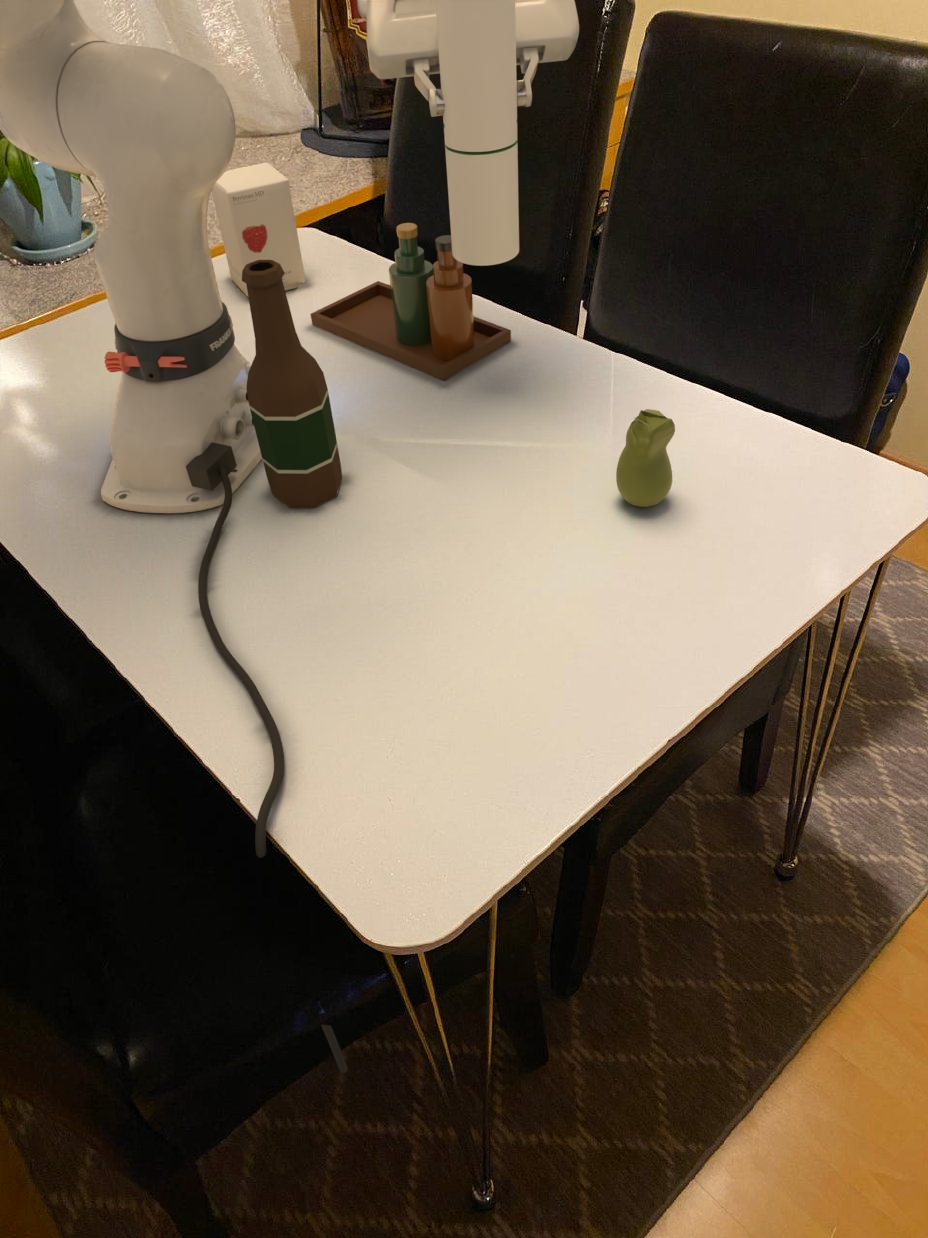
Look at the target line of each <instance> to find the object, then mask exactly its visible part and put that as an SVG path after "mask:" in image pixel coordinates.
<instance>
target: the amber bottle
mask: <svg viewBox="0 0 928 1238" xmlns="http://www.w3.org/2000/svg"><path fill="white" fill-rule="evenodd" d="M435 249H436V250H437V252H436V253H437V261H434V262H433V264H432V266H433V276H431V277H429V278H428V279H427V281H426V288H427V300H428V312H429V324H430V336H431V348H432V354H433V355H434V356H435V357H436V358H438V359H441V360H447V361H451V360H453V359H454V358H456V357H458V356H460V355H461V354H463V353H465V352H466V351H468V350H470V349H472V348H473V347H475V341H474V320H473V316H474V301H473V281H472V277H471V276H470V275H468V274H467V273H464V263H462V262H459V261H457V260H456V259H455V258H454V257H453V254H452V240H451V234H450V235H449V234H446V235H445V234H443V235H440V236H438V237H436V238H435Z"/></svg>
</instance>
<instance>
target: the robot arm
mask: <svg viewBox="0 0 928 1238" xmlns="http://www.w3.org/2000/svg"><path fill="white" fill-rule="evenodd" d="M356 5H357V11H358V13H359V15H360V17H361V18H362V20H363V21H365V22H366V43H367V56H368V66H369V70H370V72H371V73H372V74H373V75H374V76H375V77H376V78H377V79H379V80H389V79H399V78H409V77H413V80H414V86H415V87H416V89H417V91H419V92H420V94H421V95H422V96H423V97H424V98H425V100H426V101H427V102H428V103H429V104H428V105H429V111H430V112H429V113H430V117H431V118H434V117H443V116H444V111H445V102H444V99H443V95H442V90H441V88H437V87H435V85H434V84H433V82H432V81H431V80H430V75H438V74H439V75H440V64H439V50H438V35H437V20H436V6H435V0H356ZM515 16H516V66H520V70H521V74H523V79H518V80H517V79H516V80H517V109H518V108H529V107H531V106H532V102H533V91H532V84H533V80H534V78H535V75H536V73H537V70H538V64H544V63H554V62H563V61H568V59H570V57H571V55H572V54H573V52H574V51H575V49H576V46H577V43H578V39H579V34H580V23H579V16H578V10H577V5H576V1H575V0H515ZM236 129H237V128H236V118H235V113H234V109H233V106H232V103H231V99H230V97H229V95H228V93H227V91H226V89H225V87H224V85H223V84H222V83H221V81H220V80H219V79H218V78H217V77H216V76H215V75H214V74H213V73H212V72H211V71H210V70H208V69H206V68H205V67H203V66H201V65H199V64H197V63H195V62H194V61H193V62H192V61H190V60H189V59H187V58H184V57H183V56H179V55H177V54H175V53H173V52H169V51H168V50H165V49H162V48H158V47H151V46H140V45H133V44H124V43H115V42H110V41H107V40H105V39H104V38H102V37H100V36H99V35H98V34H97V33H96V32H95V31H93V30H92V28H91V27H90V26H89V25H88V24H87V23H86V21H85V20H84V18H83V17H82V15H81V13H80V11H79V9H78V7H77V6H76V3H75V0H0V131H1V133H2V134H3V136H4V137H5V138H6V139H7V140H8V141H9V142H10V144H12V145H13V146H14V147H16V148H17V149H19V150H21V151H22V152H24V153H25V154H27V155H29V156H31V157H32V158H34V159H36V160H38V161H40V162H41V163H43V164H46V165H48V166H50V167H51V168H54V169H57V170H60V171H65V172H69V173H73V174H79V175H81V176H87V177H92V178H96V179H98V181H99V182H100V183H101V186H102V187H103V190H104V193H105V198H106V203H107V205H106V206H107V217H108V218H107V219H108V221H107V223H108V224H107V228H106V229H105V230H103V232H102V233H101V234H100V235H99V237H98V239H97V240H96V243H95V245H94V249H93V259H94V264H95V267H96V271H97V273H98V275H99V279H100V282H101V285H102V287H103V290H104V292H105V293H104V294H105V296H106V298H107V303H108V304H109V308H110V310H111V311H110V312H111V313H112V316H113V319H114V323H115V324H114V326H113V329H114V345H115V350H116V351H107V352H106V353H105V355H104V365H105V368H106V370H107V371H108V372H109V373H117V372H121V375H120V381H119V385H118V389H117V395H116V400H115V406H114V411H113V416H112V421H111V427H110V433H109V438H108V439H109V448H110V452H111V456H112V459H111V462H110V464H109V467H108V470H107V473H106V475H105V477H104V481H103V483H102V485H101V489H100V496H101V499H102V501H103V502H105V503H106V504H108V505H109V506H112V507H115V508H117V509H121V510H125V511H131V512H137V513H151V514H183V513H193V512H200V511H205V510H209V509H212V508H213V509H214V508H216V507H219V506H221V505H222V507H221V510H220V512H219V514H218V517H217V519H216V521H215V524H214V527H213V529H212V533H211V535H210V538H209V541H208V543H207V546H206V548H205V550H204V554H203V556H202V559H201V563H200V567H199V572H198V581H197V582H198V583H197V591H198V592H197V593H198V594H197V595H198V603H199V609H200V612H201V616H202V619H203V621H204V625H205V627H206V629H207V632H208V634H209V636H210V639H211V641H212V643H213V645H214V646H215V648H216V650H217V652H218V653H219V655H220V656H221V657H222V658H223V661H225V662H226V664H227V666H229V667H230V669H231V670H232V671H233V672H234V673H235V674H236V676H237V677H238V678H239V680H240V681H241V683H242V684H243V686H244V688H246V690H247V692H248V694H249V696H250V698H251V700H252V701H253V703H254V706H255V708H256V709H257V711H258V713H259V715H260V717H261V719H262V721H263V723H264V725H265V727H266V730H267V732H268V736H269V739H270V743H271V747H272V754H273V774H272V777H271V781H270V783H269V786H268V789H267V791H266V793H265V795H264V798H263V799H262V802H261V805H260V807H259V810H258V814H257V818H256V823H255V832H254V833H255V834H254V841H255V842H254V844H255V845H254V847H255V856H256V857H258V858H259V859H260V858H263V857H265V856H266V855H267V851H268V849H267V839H266V838H267V826H266V825H267V824H268V819H269V815H270V812H271V810H272V807H273V805H274V803H275V800H276V798H277V795H278V793H279V792H280V788H281V786H282V782H283V779H284V774H285V773H284V772H285V757H284V754H285V753H284V747H283V742H282V739H281V735H280V732H279V729H278V726H277V724H276V722H275V719H274V717H273V716H272V713H271V712H270V710H269V708H268V705H267V704H266V702H265V701H264V700H265V699H264V698H263V696H262V695H261V693H260V691H259V688H258V687H257V686H256V684H255V683H254V681H253V679H252V678H251V676H250V675H249V673H247V671H246V670H245V668H243V666H242V665H241V664H240V663H239V661H238V660H237V658H235V657H234V655H233V654H232V653H231V652H230V651H229V649H228V648H227V646H226V644H225V643H224V641H223V638H222V637H221V635H220V633H219V631H218V628H217V626H216V624H215V621H214V618H213V616H212V612H211V609H210V606H209V599H208V591H207V590H208V586H207V585H208V584H207V582H208V580H207V579H208V571H209V568H210V567H209V566H210V563H211V560H212V557H213V554H214V552H215V550H216V547H217V544H218V542H219V538H220V535H221V533H222V530H223V528H224V524H225V522H226V521H227V518H228V516H229V513H230V511H231V508H232V503H233V494H234V493H235V492H236V491H237V489H238V488H239V487H240V486H241V485H242V483H243V482H244V481H245V480H247V479H246V478H248V476H249V475H250V474H251V473H252V471H253V470H255V468H256V467H257V466H258V465H259V463H260V462H261V460H263V459H262V455H261V451H260V447H259V443H258V439H257V435H256V431H255V427H254V423H253V419H252V415H251V411H250V407H249V402H248V396H247V389H246V386H247V379H248V372H249V370H250V367H251V365H252V363H251V362H250V361H249V360H247V358H246V357H245V356H244V355H243V354H242V352H241V351H240V350H239V349H238V347H237V346H236V345H235V342H236V336H235V331H234V324H233V320H232V317H231V315H230V313H229V310H228V307H227V305H226V303H224V302H223V301H222V297H221V293H220V290H219V285H218V281H217V277H216V273H215V268H214V267H215V266H214V262H213V259H212V253H211V250H210V245H209V244H210V243H209V238H208V237H209V235H208V209H209V201H210V196H211V194H212V191H211V190H212V188H213V186H214V184H215V183H216V182H217V180H218V179H219V178H220V177H221V176H222V175H223V174H224V172H225V171H227V169H228V167H229V166H230V163H231V160H232V157H233V154H234V151H235V147H236V138H237V133H236V132H237V131H236ZM320 1026H321V1028H322V1031H323V1033H324V1036H325V1038H326V1040H327V1042H328V1045H329V1047H330V1049H331V1052H332V1054H333V1057H334V1059H335V1062H336V1064H337V1067H338V1069H339V1072H340V1073H341V1074H346V1073H347V1072H348V1070H349V1068H348V1065H347V1062H346V1060H345V1057H344V1055H343V1052H342V1050H341V1047H340V1045H339V1042H338V1040H337V1037H336V1034H335V1033H334V1030H333V1028H332V1025H329V1024H320Z"/></svg>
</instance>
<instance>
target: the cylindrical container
mask: <svg viewBox="0 0 928 1238" xmlns="http://www.w3.org/2000/svg"><path fill="white" fill-rule="evenodd" d="M435 6H436V20H437V35H438V50H439V64H440V73H439V77H440V79H439V80H440V89H441V90H442V95H443V99H444V102H445V111H444V116H442V120H443V121H442V122H443V135H444V137H443V138H444V149H445V150H444V151H445V163H446V165H445V167H446V180H447V181H446V182H447V193H448V210H449V225H450V235H451V240H452V254H453V257H454V258H455V259H456V260H457V261H459V262H462V263H463V264H466V265H470V266H476V267H477V266H478V267H479V266H480V267H483V266H484V267H485V266H495V265H500V264H503V263H506V262H509V261H511V260H513V259H514V258H516V257H517V256H518V254H519V253H520V227H519V226H520V219H519V218H520V216H519V215H520V214H519V213H520V212H519V211H520V210H519V157H518V155H519V151H518V149H519V148H518V146H519V145H518V108H517V65H516V16H515V0H435Z"/></svg>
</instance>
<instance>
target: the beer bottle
mask: <svg viewBox="0 0 928 1238" xmlns="http://www.w3.org/2000/svg"><path fill="white" fill-rule="evenodd" d="M284 274H285V273H284V271H283V269H282V267H281V265H280V264H279V263H277V262H275V261H273V260H257V261H254V262H251V263H249V264H246V265H245V267H244V269H243V270H242V281H243V282H244V283H246V285H247V291H248V297H247V298H248V303H249V310H250V316H251V322H252V327H253V328H252V329H253V334H254V344H255V346H254V347H255V356H254V358H253V360H252V363H251V367H250V370H249V372H248V379H247V386H246V389H247V396H248V402H249V407H250V411H251V415H252V419H253V423H254V427H255V431H256V435H257V439H258V443H259V447H260V451H261V455H262V459H261V460H262V463H263V467H264V471H265V475H266V479H267V483H268V486H269V489H270V492H271V494H272V495H273V496H274V497H275V498H276V499H277V500H278V501H280V502H281V503H282V504H284V505H285V506H286V507H287V508H290V509H291V508H293V509H295V508H297V509H299V508H300V509H301V508H302V509H309V508H310V509H315V508H316V507H319V506H321V505H323V504H324V503H327V502H329V501H331V500H333V499H335V498H337V496H338V494H339V490H340V487H341V483H342V480H343V474H342V473H343V472H342V463H341V457H340V451H339V446H338V439H337V435H336V429H335V423H334V418H333V411H332V406H331V401H330V395H329V389H328V385H327V381H326V378H325V373H324V371H323V369H322V368H321V366H320V365H319V363H318V361H317V360H316V358H315V357H314V356H313V355H311V353H310V352H308V351H307V350H306V349H305V347H303V346H302V344H301V342H300V341H301V340H300V338H299V336H298V334H297V330H296V326H295V323H294V320H293V316H292V312H291V308H290V304H289V299H288V297H287V291H285V288H284V285H283V281H282V277H283V275H284Z"/></svg>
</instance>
